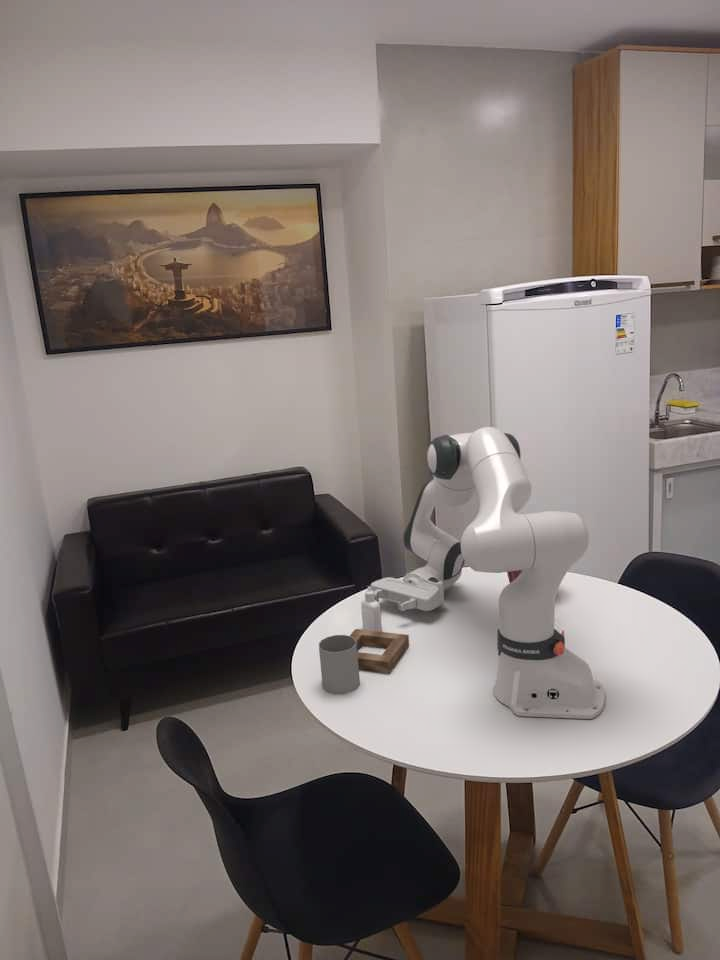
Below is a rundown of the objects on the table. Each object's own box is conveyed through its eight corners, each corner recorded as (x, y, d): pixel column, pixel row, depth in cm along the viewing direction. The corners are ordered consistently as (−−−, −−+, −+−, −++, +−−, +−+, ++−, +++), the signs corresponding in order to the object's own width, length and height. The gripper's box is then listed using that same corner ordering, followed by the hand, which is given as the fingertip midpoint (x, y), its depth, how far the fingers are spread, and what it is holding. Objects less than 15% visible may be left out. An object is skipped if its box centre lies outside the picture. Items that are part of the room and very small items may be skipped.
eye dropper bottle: (366, 636, 184) (362, 592, 182) (362, 627, 190) (358, 584, 187) (382, 633, 185) (379, 589, 182) (378, 624, 191) (375, 581, 188)
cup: (361, 674, 166) (358, 634, 163) (358, 693, 158) (354, 651, 155) (325, 675, 167) (321, 635, 164) (319, 694, 159) (315, 652, 156)
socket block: (409, 646, 178) (408, 634, 177) (389, 674, 165) (388, 662, 164) (356, 639, 183) (355, 628, 182) (333, 666, 170) (332, 654, 170)
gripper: (388, 568, 206) (355, 584, 196) (447, 582, 192) (415, 600, 183) (390, 589, 208) (357, 606, 198) (448, 605, 194) (416, 623, 184)
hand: (385, 603), depth 190 cm, fingers open, 8 cm apart
